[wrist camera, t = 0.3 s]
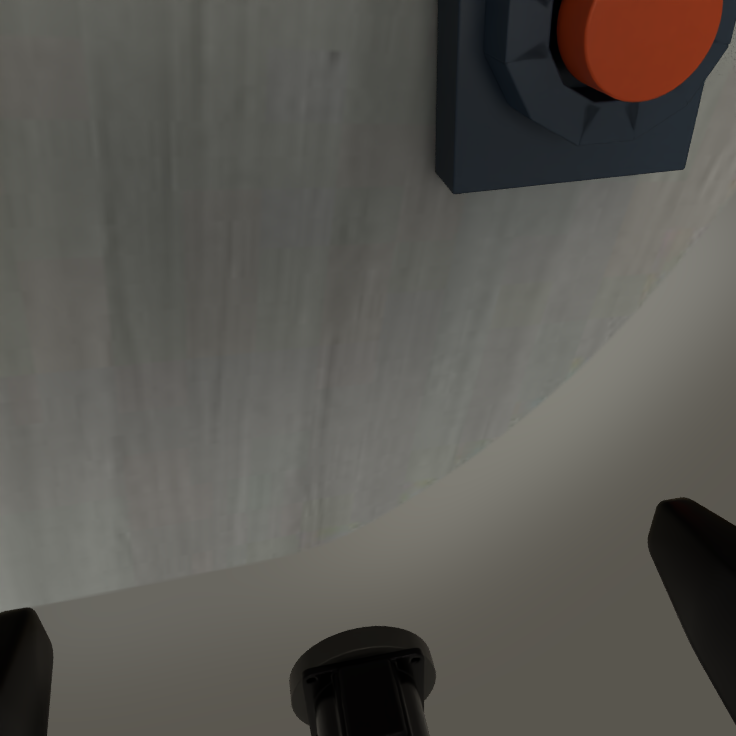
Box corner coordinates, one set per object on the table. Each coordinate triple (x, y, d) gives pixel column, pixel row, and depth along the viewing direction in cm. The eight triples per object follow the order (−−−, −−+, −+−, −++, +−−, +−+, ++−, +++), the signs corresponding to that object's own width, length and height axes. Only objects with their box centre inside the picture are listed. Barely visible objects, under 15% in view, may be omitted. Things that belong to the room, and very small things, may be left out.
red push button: (668, 82, 19) (704, 97, 18) (548, 93, 19) (575, 108, 17) (698, -68, 17) (742, -66, 16) (564, -60, 17) (596, -57, 15)
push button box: (650, 150, 24) (717, 188, 21) (434, 173, 23) (470, 216, 20) (722, -215, 19) (830, -241, 15) (440, -206, 18) (491, -232, 14)
